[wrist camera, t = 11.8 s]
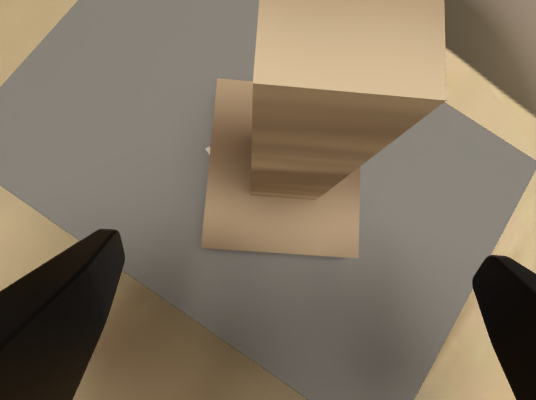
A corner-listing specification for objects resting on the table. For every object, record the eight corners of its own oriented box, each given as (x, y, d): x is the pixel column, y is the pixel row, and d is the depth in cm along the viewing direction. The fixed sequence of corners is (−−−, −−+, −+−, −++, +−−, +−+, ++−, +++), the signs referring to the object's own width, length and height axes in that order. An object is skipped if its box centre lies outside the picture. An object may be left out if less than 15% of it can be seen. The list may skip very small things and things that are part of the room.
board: (517, 169, 19) (539, 162, 18) (373, 435, 17) (385, 453, 15) (160, -60, 21) (153, -84, 19) (-29, 156, 18) (-55, 147, 16)
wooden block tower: (345, 257, 17) (583, 273, 5) (206, 248, 16) (93, 241, 4) (349, 109, 18) (546, -171, 6) (220, 97, 18) (161, -220, 6)
